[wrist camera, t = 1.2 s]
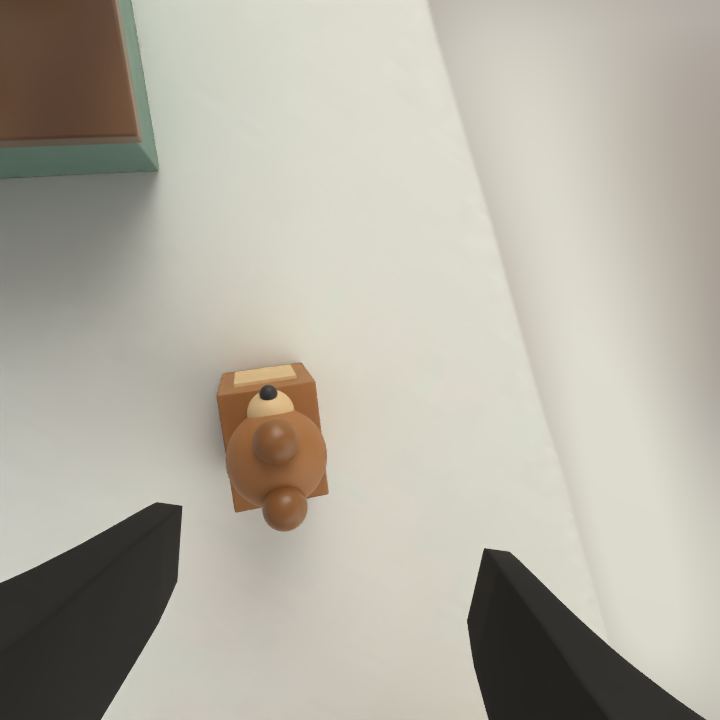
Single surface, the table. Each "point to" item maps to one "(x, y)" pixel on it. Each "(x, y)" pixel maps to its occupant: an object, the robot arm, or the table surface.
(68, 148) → the toy sink
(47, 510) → the table surface
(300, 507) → the toy bear
